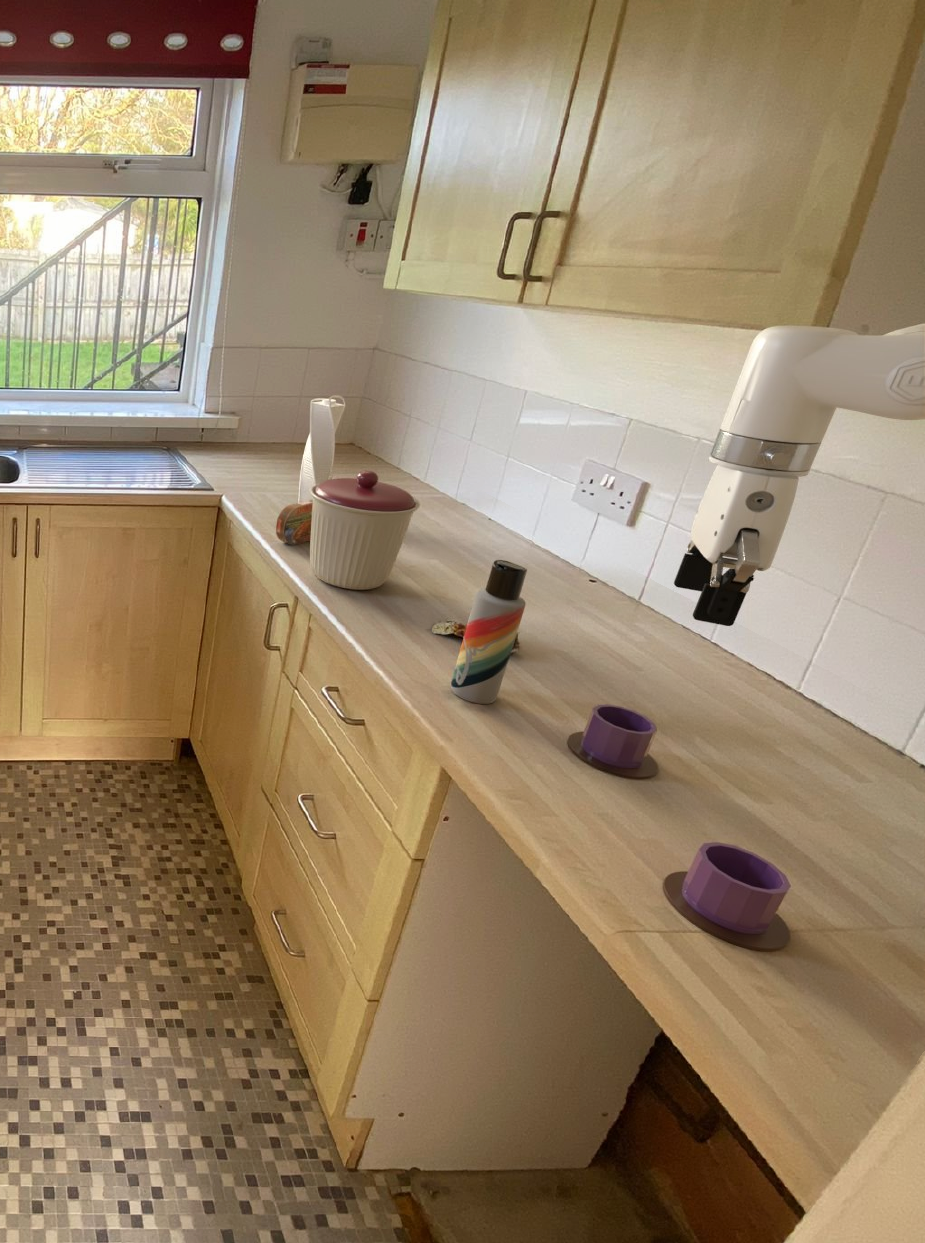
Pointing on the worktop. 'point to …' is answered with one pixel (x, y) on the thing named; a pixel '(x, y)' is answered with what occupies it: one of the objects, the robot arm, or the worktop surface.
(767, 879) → the ramekin
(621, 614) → the worktop surface
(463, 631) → the pastry
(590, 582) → the worktop surface
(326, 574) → the canister
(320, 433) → the skyscraper
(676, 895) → the coaster front
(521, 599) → the lotion bottle
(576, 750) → the coaster back
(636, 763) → the ramekin
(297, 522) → the tin
